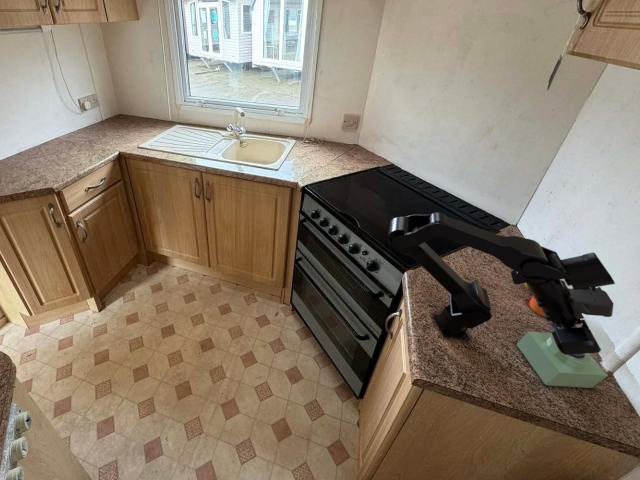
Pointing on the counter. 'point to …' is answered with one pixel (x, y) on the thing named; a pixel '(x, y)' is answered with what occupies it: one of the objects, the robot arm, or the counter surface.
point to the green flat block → (559, 362)
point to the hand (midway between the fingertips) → (578, 340)
